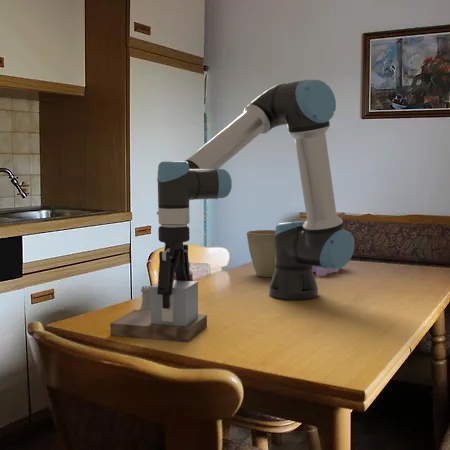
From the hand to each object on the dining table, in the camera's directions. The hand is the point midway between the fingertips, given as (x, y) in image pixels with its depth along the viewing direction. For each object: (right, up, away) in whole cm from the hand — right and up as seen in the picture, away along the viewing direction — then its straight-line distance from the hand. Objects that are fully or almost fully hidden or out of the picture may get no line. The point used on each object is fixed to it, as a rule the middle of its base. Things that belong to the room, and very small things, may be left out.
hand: (174, 316), depth 153 cm
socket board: (-4, -4, +2) cm, 6 cm away
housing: (0, -1, 0) cm, 1 cm away
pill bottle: (-1, 0, +38) cm, 38 cm away
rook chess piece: (-9, -2, +16) cm, 19 cm away
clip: (+48, +5, +81) cm, 95 cm away
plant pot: (+28, +4, +74) cm, 79 cm away
